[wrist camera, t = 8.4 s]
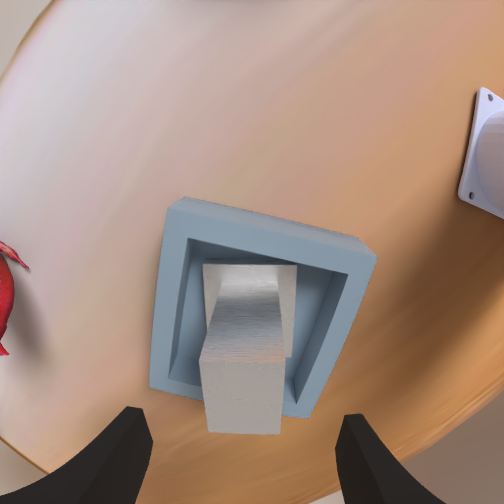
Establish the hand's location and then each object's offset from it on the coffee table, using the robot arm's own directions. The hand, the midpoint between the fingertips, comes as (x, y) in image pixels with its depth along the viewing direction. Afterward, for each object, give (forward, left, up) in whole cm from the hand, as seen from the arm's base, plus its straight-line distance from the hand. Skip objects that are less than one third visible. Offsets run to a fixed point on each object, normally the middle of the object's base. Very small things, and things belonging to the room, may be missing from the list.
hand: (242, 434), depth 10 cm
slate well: (0, 0, -10) cm, 10 cm away
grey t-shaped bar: (0, 0, -9) cm, 9 cm away
